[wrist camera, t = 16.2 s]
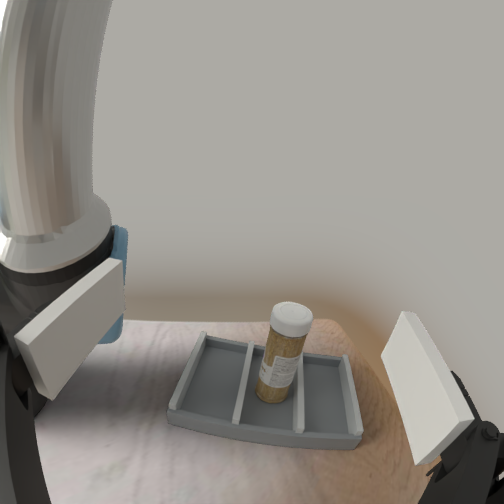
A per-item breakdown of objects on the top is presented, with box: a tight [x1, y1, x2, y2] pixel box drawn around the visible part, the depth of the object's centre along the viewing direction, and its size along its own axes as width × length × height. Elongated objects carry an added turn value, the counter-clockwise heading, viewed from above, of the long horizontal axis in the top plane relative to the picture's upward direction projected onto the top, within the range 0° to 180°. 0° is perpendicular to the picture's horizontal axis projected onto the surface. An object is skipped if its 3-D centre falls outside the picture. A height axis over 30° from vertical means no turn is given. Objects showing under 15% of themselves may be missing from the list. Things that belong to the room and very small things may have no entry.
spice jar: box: [255, 302, 313, 403], centre depth 33 cm, size 5×5×13 cm
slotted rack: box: [167, 331, 364, 450], centre depth 35 cm, size 23×16×4 cm
